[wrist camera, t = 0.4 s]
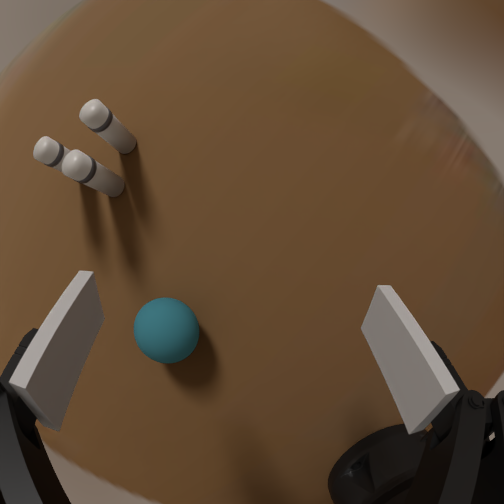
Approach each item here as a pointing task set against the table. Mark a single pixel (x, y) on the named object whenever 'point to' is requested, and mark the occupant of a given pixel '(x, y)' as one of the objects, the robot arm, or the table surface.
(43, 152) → the pin
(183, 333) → the ball
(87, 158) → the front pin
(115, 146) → the pin
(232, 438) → the table surface
